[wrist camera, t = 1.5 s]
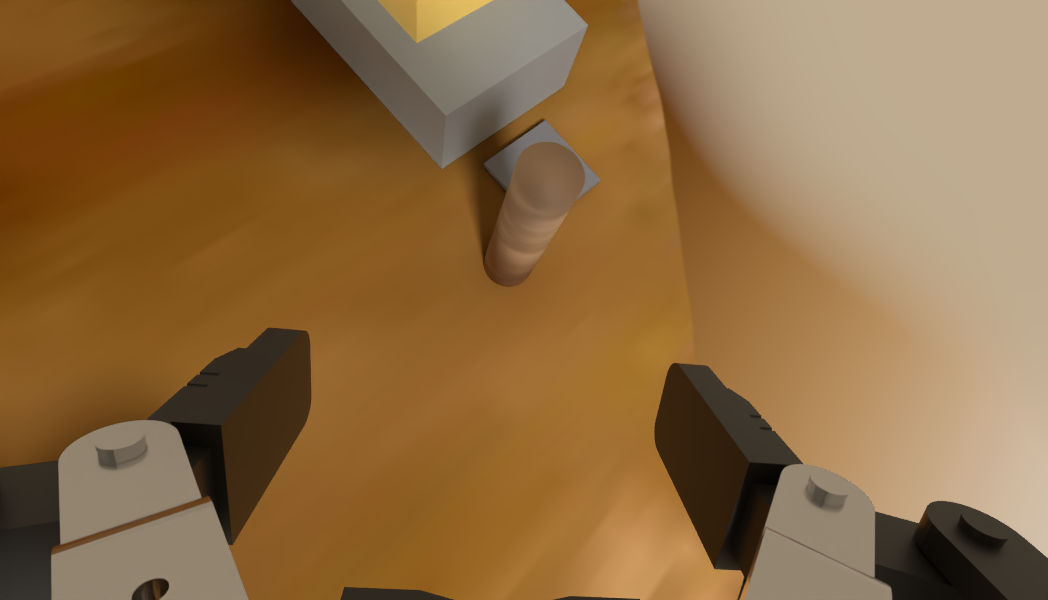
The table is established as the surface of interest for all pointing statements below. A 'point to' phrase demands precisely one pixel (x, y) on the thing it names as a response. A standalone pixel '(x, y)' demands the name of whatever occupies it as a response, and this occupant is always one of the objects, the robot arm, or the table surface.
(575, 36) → the grey base plinth
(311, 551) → the table surface
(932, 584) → the robot arm
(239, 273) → the table surface
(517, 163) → the brown wooden cylinder
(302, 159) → the table surface
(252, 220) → the table surface
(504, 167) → the rest pad
